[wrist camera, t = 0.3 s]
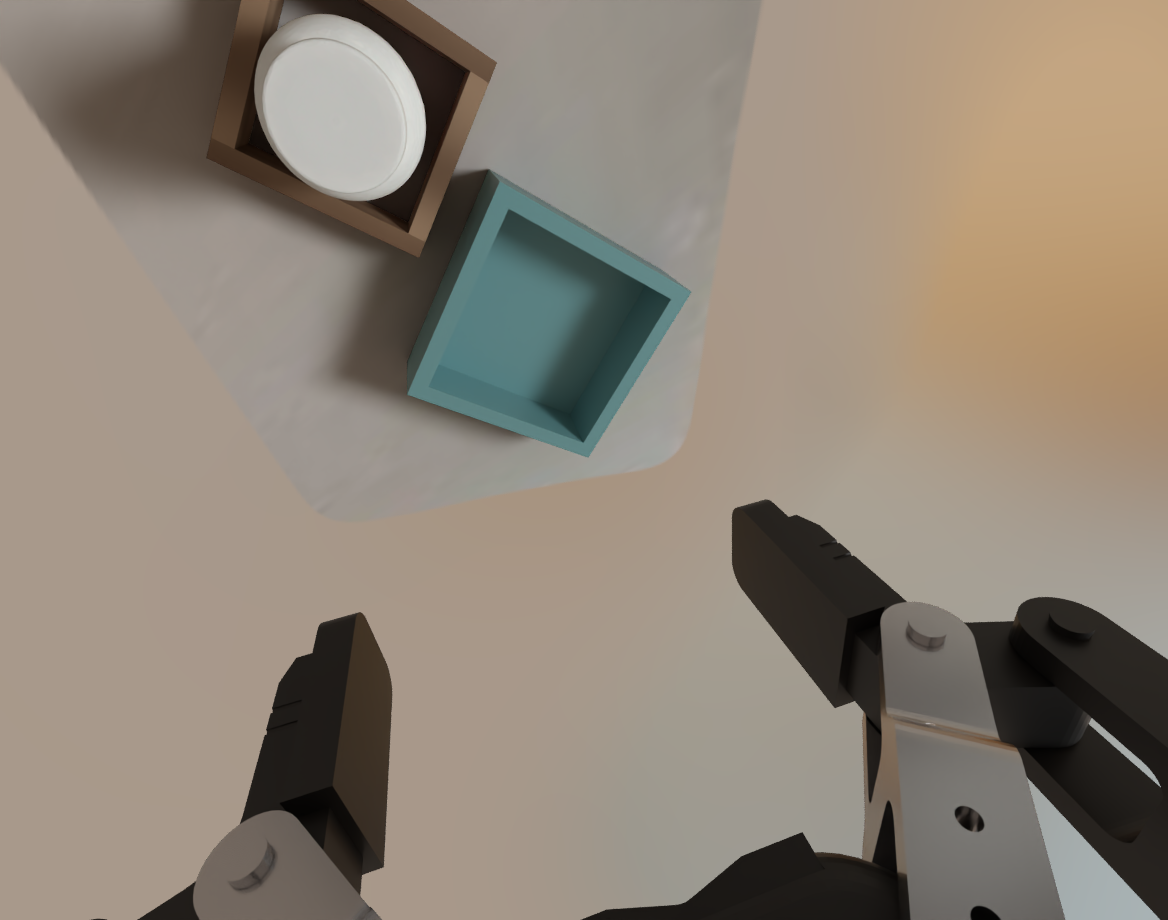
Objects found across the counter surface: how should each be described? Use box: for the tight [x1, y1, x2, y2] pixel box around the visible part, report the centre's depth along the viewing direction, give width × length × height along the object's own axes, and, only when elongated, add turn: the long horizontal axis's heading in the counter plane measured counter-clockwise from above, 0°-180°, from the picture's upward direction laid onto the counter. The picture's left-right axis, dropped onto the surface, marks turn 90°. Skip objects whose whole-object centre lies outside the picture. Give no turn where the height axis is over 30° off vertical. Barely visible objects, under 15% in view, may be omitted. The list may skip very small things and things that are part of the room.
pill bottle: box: [254, 14, 426, 201], centre depth 20 cm, size 5×5×10 cm
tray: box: [407, 169, 691, 457], centre depth 30 cm, size 11×11×4 cm
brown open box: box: [207, 0, 497, 258], centre depth 23 cm, size 9×9×2 cm
